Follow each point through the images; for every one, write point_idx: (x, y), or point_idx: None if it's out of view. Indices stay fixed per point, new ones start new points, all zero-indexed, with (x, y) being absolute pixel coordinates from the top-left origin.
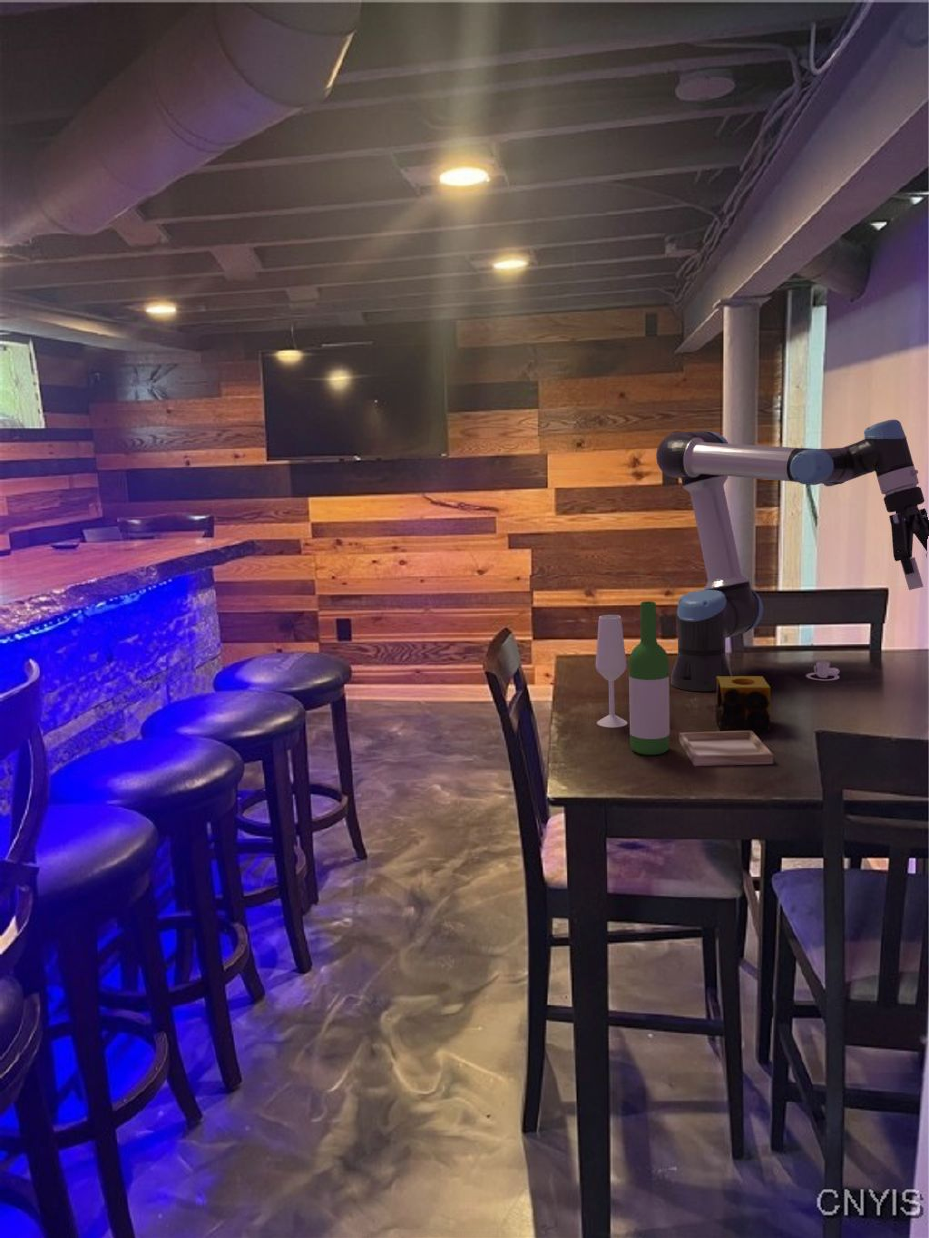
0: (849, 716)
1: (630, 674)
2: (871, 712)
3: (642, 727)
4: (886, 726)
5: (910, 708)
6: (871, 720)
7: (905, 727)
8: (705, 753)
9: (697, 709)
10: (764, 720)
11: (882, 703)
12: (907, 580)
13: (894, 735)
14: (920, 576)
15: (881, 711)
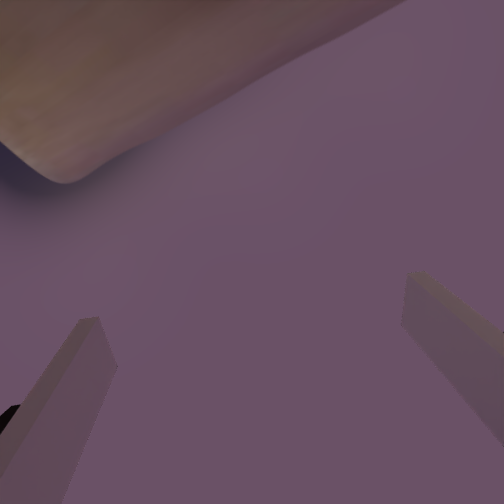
0: (26, 24)
1: None
2: (102, 47)
3: None
4: (53, 126)
5: (198, 96)
6: (54, 83)
7: (82, 152)
8: None
9: None
10: None
11: (188, 24)
12: (58, 360)
13: (26, 163)
14: (99, 410)
15: (129, 61)
